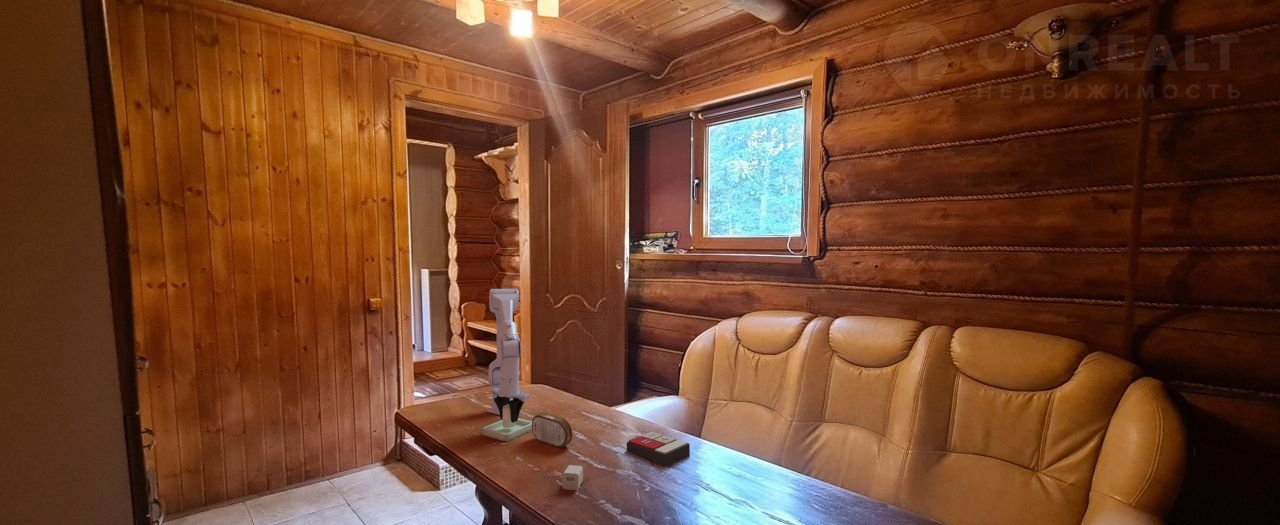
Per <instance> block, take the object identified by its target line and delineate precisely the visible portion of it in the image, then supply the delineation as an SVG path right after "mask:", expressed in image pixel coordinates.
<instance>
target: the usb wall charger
mask: <svg viewBox="0 0 1280 525" xmlns="http://www.w3.org/2000/svg"><path fill="white" fill-rule="evenodd" d="M583 480H584V468H583V466H582V465H574V464H569V465H568V466H567V468H566V469H565V470H564V472H563V474H562V483H561V484H562V489H563V490H570V491H571V490H573V491H574V490H575V491H578V489H579V488H580V486H581V484H582V482H583Z"/></svg>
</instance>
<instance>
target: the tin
mask: <svg viewBox="0 0 1280 525" xmlns="http://www.w3.org/2000/svg"><path fill="white" fill-rule="evenodd" d="M531 421H532V431H531V432H532V435H533V436H534V437H535V439H536V440H538V441H539V442H540V443H541V442H542V443H545V444H547V445H550V446H551V447H555V446H556V448H563V447H565V446H568V445H569V444H570V443H571V442H572V440H573V429H572V426H571V424H570V423H569V421H568V420H567V419H565V418H564V417H561V416H557V415H555V414H551V413H548V412H546V411H545V412H544V411H543V412H540V413H539V414H537V415H535V416H533V418H532V420H531Z"/></svg>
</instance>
